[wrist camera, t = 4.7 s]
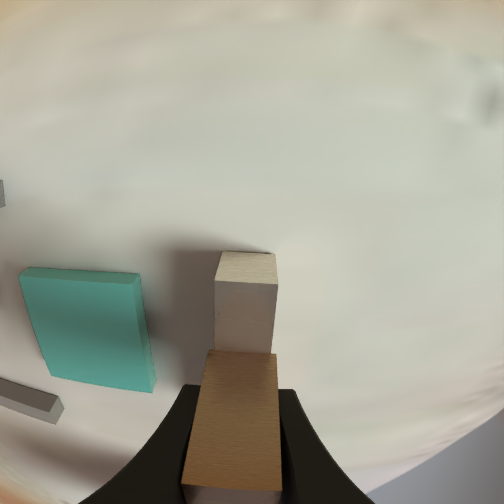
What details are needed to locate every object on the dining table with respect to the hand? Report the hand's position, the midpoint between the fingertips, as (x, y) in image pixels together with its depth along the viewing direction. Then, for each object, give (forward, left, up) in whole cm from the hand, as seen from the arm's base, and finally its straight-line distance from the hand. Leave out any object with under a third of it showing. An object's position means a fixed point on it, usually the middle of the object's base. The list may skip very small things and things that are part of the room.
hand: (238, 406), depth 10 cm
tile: (0, +7, -4) cm, 9 cm away
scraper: (0, 0, -4) cm, 4 cm away
